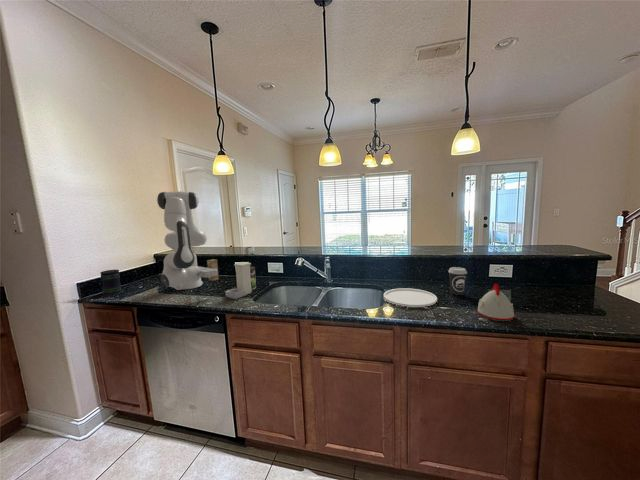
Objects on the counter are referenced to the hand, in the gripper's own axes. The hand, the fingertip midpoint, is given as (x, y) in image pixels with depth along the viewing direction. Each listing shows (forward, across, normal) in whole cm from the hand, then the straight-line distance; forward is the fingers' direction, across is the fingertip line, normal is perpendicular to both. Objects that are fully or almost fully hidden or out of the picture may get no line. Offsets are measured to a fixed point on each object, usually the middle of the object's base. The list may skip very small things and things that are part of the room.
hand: (214, 268), depth 161 cm
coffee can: (+20, -7, +17) cm, 27 cm away
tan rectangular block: (-1, 0, +6) cm, 7 cm away
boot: (+7, -13, +17) cm, 22 cm away
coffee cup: (+68, -126, +17) cm, 145 cm away
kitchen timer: (+43, -144, +17) cm, 152 cm away
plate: (+47, -105, +17) cm, 117 cm away
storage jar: (-30, +68, +17) cm, 77 cm away
